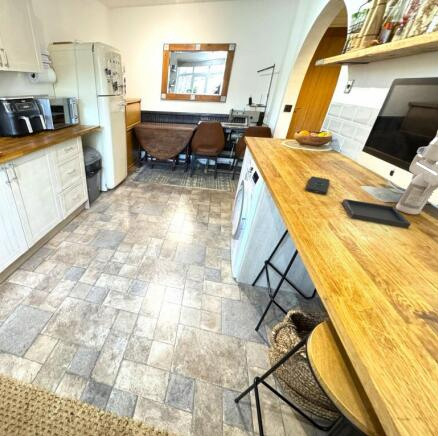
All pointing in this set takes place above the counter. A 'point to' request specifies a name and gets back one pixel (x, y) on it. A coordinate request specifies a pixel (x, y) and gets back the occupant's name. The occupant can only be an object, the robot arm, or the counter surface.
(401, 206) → the bath foam
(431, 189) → the robot arm
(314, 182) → the smart home device
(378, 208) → the tray
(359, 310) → the counter surface
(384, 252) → the counter surface
